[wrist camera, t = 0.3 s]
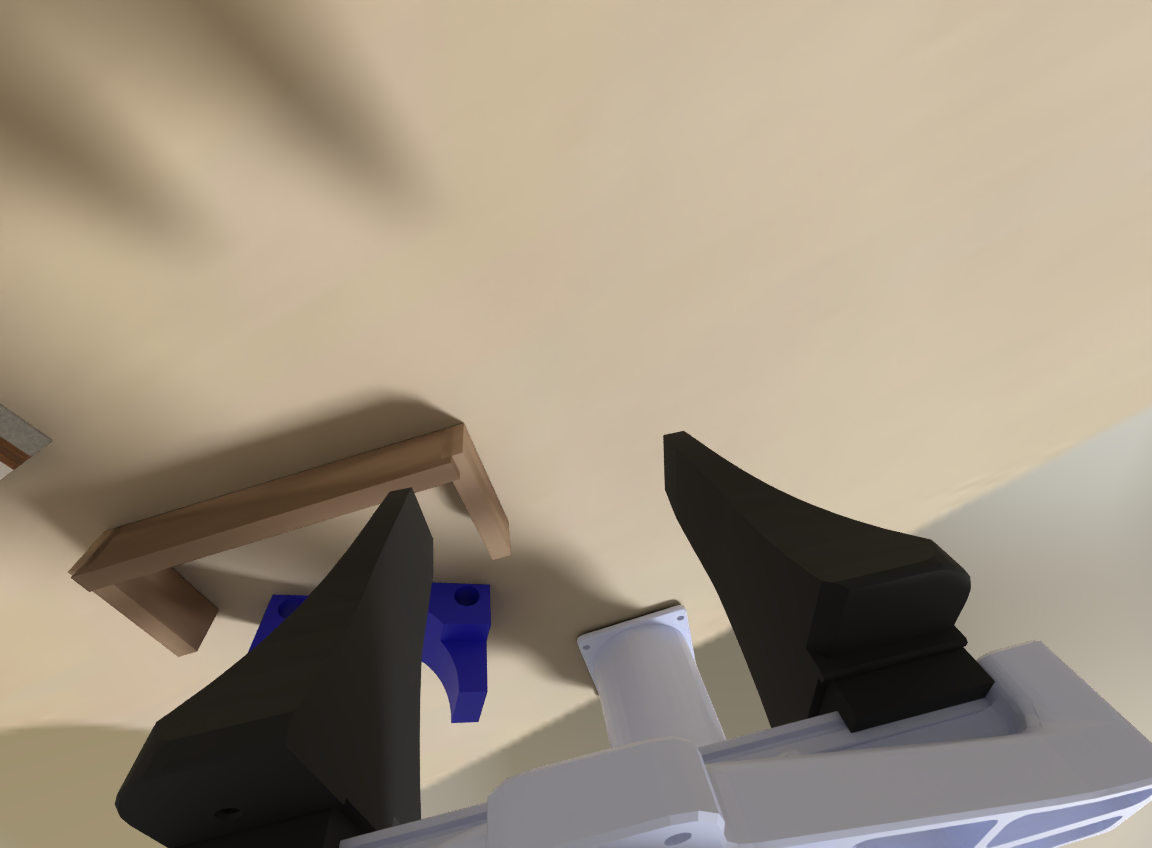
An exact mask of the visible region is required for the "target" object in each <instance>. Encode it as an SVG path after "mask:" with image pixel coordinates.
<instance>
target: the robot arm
mask: <svg viewBox="0 0 1152 848" xmlns="http://www.w3.org/2000/svg"><path fill="white" fill-rule="evenodd" d="M663 440H664V474H665V491H666V493H667V496H668V498H669V501H670V504H671V506H672V509H673V511H674V514H675V516H676V518H677V520H678V522H679V524H680V526H681V528H682V529H683V531H684V533H685V535H686V537H687V538H688V540H689V542H690V544H691V546H692V547H693V549H694V551H695V553H696V555H697V556H698V558H699V560H700V562H701V563H702V565H703V567H704V569H705V571H706V572H707V574H708V576H709V578H710V579H711V581H712V583H713V585H714V587H715V589H716V591H717V593H718V595H719V598H720V600H721V602H722V605H723V607H724V609H725V611H726V614H727V616H728V618H729V621H730V623H731V625H732V628H733V630H734V633H735V635H736V638H737V640H738V642H739V645H740V647H741V650H742V652H743V655H744V657H745V660H746V662H747V665H748V667H749V670H750V672H751V675H752V677H753V680H754V683H755V685H756V688H757V690H758V693H759V696H760V698H761V701H762V704H763V706H764V709H765V712H766V715H767V717H768V720H769V723H770V725H771V728H770V729H766V730H763V731H759V732H755V733H751V734H747V735H744V736H740V737H736V738H732V739H728V740H726V737H725V735H724V732H723V730H722V727H721V725H720V722H719V720H718V717H717V715H716V712H715V710H714V708H713V705H712V703H711V700H710V698H709V695H708V693H707V690H706V688H705V685H704V683H703V680H702V678H701V675H700V673H699V670H698V668H697V666H696V662H695V657H694V651H693V645H692V640H691V634H690V629H689V623H688V618H687V612H686V609H685V607H684V606H682V605H677V606H674V607H671V608H668V609H664V610H661V611H658V612H655V613H651V614H648V615H645V616H642V617H639V618H635V619H632V620H629V621H626V622H622V623H619V624H616V625H613V626H610V627H606V628H603V629H600V630H597V631H593V632H590V633H587V634H584V635H581V636H579V637H578V639H577V643H578V646H579V649H580V651H581V653H582V656H583V658H584V661H585V663H586V665H587V668H588V670H589V672H590V675H591V677H592V679H593V682H594V684H595V686H596V689H597V691H598V693H599V696H600V700H601V705H602V709H603V714H604V719H605V723H606V728H607V733H608V737H609V742H610V747H611V748H610V749H606V750H603V751H599V752H595V753H591V754H587V755H583V756H579V757H575V758H572V759H568V760H564V761H560V762H556V763H552V764H548V765H544V766H541V767H536V768H533V769H529V770H527V771H524V772H522V773H519V774H517V775H514V776H512V777H509V778H507V779H506V780H505V781H503V782H502V783H501V784H500V785H499V786H498V787H496V789H494V790H493V791H492V792H491V794H490V795H489V796H488V801H487V802H486V803H482V804H479V805H475V806H471V807H468V808H463V809H459V810H456V811H452V812H448V813H445V814H441V815H437V816H433V817H429V818H425V819H421V803H420V688H421V662H422V652H423V643H424V636H425V629H426V622H427V615H428V607H429V600H430V593H431V585H432V577H433V538H432V535H431V533H430V530H429V528H428V525H427V523H426V521H425V518H424V516H423V513H422V511H421V508H420V506H419V503H418V501H417V499H416V496H415V494H414V491H413V489H412V487H410V488H405V489H400V490H395V491H390V492H389V493H388V495H387V496H386V497H385V499H384V500H383V501H382V503H381V504H380V506H379V507H378V508H377V510H376V511H375V513H374V514H373V516H372V517H371V518H370V520H369V521H368V523H367V524H366V526H365V527H364V528H363V530H362V531H361V533H360V534H359V535H358V537H357V538H356V539H355V541H354V542H353V543H352V545H351V546H350V548H349V549H348V550H347V551H346V553H345V554H344V555H343V556H342V558H341V559H340V560H339V561H338V563H337V564H336V565H335V566H334V567H333V569H332V570H331V571H330V572H329V574H328V575H327V576H326V577H325V578H324V580H323V581H322V582H321V583H320V584H319V585H318V586H317V587H316V589H315V590H314V591H313V592H312V593H311V594H310V595H309V596H308V597H307V598H306V599H305V600H304V601H303V602H302V603H301V604H300V606H299V607H298V608H297V609H296V610H295V611H294V612H293V613H292V614H291V615H290V616H288V617H287V618H286V619H285V620H284V621H283V622H282V623H281V624H280V625H279V626H278V627H277V628H276V629H274V630H273V631H272V632H271V633H270V634H269V635H268V636H267V637H266V638H265V639H264V640H263V641H261V642H260V643H259V644H258V645H257V646H256V647H255V648H253V649H252V650H251V651H250V652H249V653H248V654H246V655H245V656H244V657H243V658H242V659H240V660H239V661H238V662H237V663H235V664H234V665H233V666H232V667H230V668H229V669H228V670H227V671H225V672H224V673H223V674H222V675H220V676H219V677H218V678H217V679H215V680H214V681H213V682H211V683H210V684H209V685H207V686H206V687H205V688H203V689H202V690H201V691H199V692H198V693H196V694H195V695H194V696H192V697H191V698H190V699H188V700H187V701H185V702H184V703H183V704H181V705H180V706H178V707H177V708H176V709H174V710H173V711H172V712H170V713H169V714H167V715H166V716H164V717H163V718H162V719H160V720H159V721H157V722H156V724H155V726H154V727H153V729H152V731H151V733H150V735H149V737H148V738H147V740H146V742H145V744H144V746H143V748H142V750H141V751H140V753H139V755H138V757H137V759H136V761H135V762H134V764H133V766H132V768H131V770H130V772H129V774H128V775H127V777H126V779H125V781H124V783H123V785H122V786H121V789H120V790H119V792H118V794H117V797H116V801H115V806H116V808H117V811H118V813H119V815H120V817H121V818H122V819H123V820H124V821H125V822H127V823H128V824H129V825H131V826H132V827H134V828H135V829H137V830H139V831H140V832H142V833H144V834H145V835H147V836H149V837H151V838H152V839H154V840H156V841H158V842H159V843H161V844H162V845H164V846H166V847H167V848H1058V847H1060V846H1063V845H1067V844H1070V843H1073V842H1076V841H1080V840H1083V839H1086V838H1090V837H1093V836H1096V835H1099V834H1102V833H1106V832H1109V831H1111V830H1113V829H1114V828H1115V827H1117V826H1118V825H1119V824H1121V823H1122V822H1123V821H1125V820H1126V819H1127V818H1129V817H1130V816H1131V815H1133V814H1134V813H1135V812H1137V811H1138V810H1139V809H1141V808H1142V807H1143V806H1145V805H1146V804H1147V803H1149V802H1150V801H1151V800H1152V743H1151V742H1150V741H1149V740H1148V739H1147V738H1146V737H1145V736H1144V735H1143V734H1141V733H1140V732H1139V731H1138V730H1137V729H1136V728H1135V727H1134V726H1133V725H1132V724H1131V723H1129V722H1128V721H1127V720H1126V719H1125V718H1124V717H1123V716H1122V715H1121V714H1120V713H1119V712H1117V711H1116V710H1115V709H1114V708H1113V707H1112V706H1111V705H1110V704H1109V703H1108V702H1107V701H1105V700H1104V699H1103V698H1102V697H1101V696H1100V695H1099V694H1098V693H1097V692H1095V691H1094V690H1093V689H1092V688H1091V687H1090V686H1089V685H1088V684H1087V683H1086V682H1085V681H1084V680H1083V679H1081V678H1080V677H1079V676H1078V675H1077V674H1076V673H1075V672H1074V671H1073V670H1072V669H1070V668H1069V667H1068V666H1067V665H1066V664H1065V663H1064V662H1063V661H1062V660H1061V659H1060V658H1059V657H1057V656H1056V655H1055V654H1054V653H1053V652H1052V651H1051V650H1050V649H1049V648H1048V647H1047V646H1045V645H1044V644H1043V643H1042V642H1041V641H1036V640H1034V641H1030V642H1026V643H1022V644H1018V645H1014V646H1011V647H1006V648H1003V649H999V650H995V651H992V652H989V653H987V654H985V655H983V656H982V657H980V658H978V659H977V660H975V659H974V658H973V657H972V656H971V655H970V654H969V653H968V652H967V651H966V650H965V648H964V646H966V645H967V643H968V642H967V639H966V637H965V636H964V635H963V634H962V633H961V632H960V631H959V630H958V629H957V628H956V627H955V626H954V624H955V622H956V620H957V618H958V616H959V614H960V612H961V610H962V609H963V607H964V605H965V603H966V601H967V598H968V596H969V593H970V589H971V581H970V576H969V575H968V573H967V572H966V571H965V570H964V569H963V568H962V567H961V566H960V565H959V564H958V563H957V562H955V560H953V559H952V558H951V557H950V556H949V555H948V554H947V553H946V552H945V551H943V550H942V549H941V548H940V547H939V546H938V545H937V544H936V543H934V542H933V541H932V540H930V539H926V538H922V537H917V536H913V535H909V534H905V533H900V532H896V531H892V530H887V529H884V528H880V527H876V526H873V525H870V524H866V523H863V522H860V521H856V520H853V519H850V518H847V517H844V516H841V515H838V514H835V513H833V512H830V511H827V510H825V509H822V508H819V507H817V506H814V505H811V504H809V503H807V502H804V501H802V500H800V499H797V498H795V497H793V496H791V495H789V494H787V493H784V492H782V491H780V490H778V489H776V488H774V487H772V486H770V485H768V484H766V483H764V482H763V481H761V480H759V479H757V478H755V477H754V476H752V475H750V474H748V473H747V472H745V471H743V470H742V469H740V468H738V467H737V466H735V465H734V464H732V463H730V462H729V461H727V460H726V459H724V458H723V457H721V456H720V455H718V454H717V453H715V452H714V451H712V450H711V449H709V448H708V447H706V446H705V445H703V444H702V443H701V442H699V441H698V440H696V439H695V438H693V437H692V436H691V435H689V434H688V433H686V432H685V431H681V432H676V433H672V434H667V435H663Z"/></svg>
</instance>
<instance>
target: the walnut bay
mask: <svg viewBox="0 0 1152 848" xmlns="http://www.w3.org/2000/svg"><path fill="white" fill-rule="evenodd" d="M449 482H453V484H454V486H455V488H456V490H457V491H458V493H459V495H460V497H461V499H462V501H463V503H464V505H465V507H466V509H467V511H468V513H469V515H470V517H471V519H472V521H473V523H474V525H475V527H476V528H477V530H478V532H479V534H480V536H481V538H482V540H483V542H484V544H485V546H486V548H487V550H488V552H489V554H490V556H491V558H492V560H496V559H499V558H502V557H506V556H509V555H511V546H510V534H509V522H508V519H507V517H506V515H505V513H504V511H503V508H502V506H501V504H500V502H499V500H498V497H497V495H496V493H495V491H494V489H493V486H492V484H491V482H490V480H489V477H488V475H487V473H486V471H485V469H484V466H483V464H482V462H481V460H480V458H479V455H478V453H477V451H476V449H475V447H474V444H473V442H472V440H471V438H470V436H469V433H468V431H467V429H466V427H465V425H464V423H462V424H459V425H456V426H452V427H449V428H446V429H442V430H439V431H436V432H432V433H429V434H426V435H422V436H419V437H416V438H413V439H409V440H406V441H403V442H399V443H396V444H393V445H389V446H386V447H383V448H379V449H376V450H373V451H370V452H366V453H363V454H360V455H356V456H353V457H350V458H346V459H343V460H340V461H336V462H333V463H330V464H326V465H323V466H320V467H317V468H313V469H310V470H307V471H303V472H300V473H297V474H293V475H290V476H287V477H283V478H280V479H277V480H273V481H270V482H267V483H264V484H260V485H257V486H254V487H250V488H247V489H244V490H240V491H237V492H234V493H230V494H227V495H224V496H221V497H217V498H214V499H211V500H207V501H204V502H201V503H197V504H194V505H191V506H187V507H184V508H181V509H177V510H174V511H171V512H168V513H164V514H161V515H158V516H154V517H151V518H148V519H144V520H141V521H138V522H134V523H131V524H128V525H124V526H121V527H118V528H115V529H111V530H108V531H105V532H104V533H103V534H102V535H101V536H100V537H99V538H98V539H97V541H96V542H95V543H94V544H93V545H92V546H91V547H90V548H89V549H88V550H87V551H86V553H85V554H84V555H83V556H82V557H81V558H80V559H79V560H78V561H77V562H76V564H75V565H74V566H73V567H72V568H71V569H70V570H69V571H68V573H70V574H71V575H72V577H71V578H72V579H73V580H74V581H76V582H77V583H78V584H80V585H81V586H82V587H83V588H85V589H86V590H87V591H89V592H91V591H93V592H94V593H96V594H97V595H98V596H100V597H101V598H102V599H103V600H105V601H106V602H107V603H109V604H110V605H111V606H113V607H114V608H115V609H116V610H118V611H119V612H120V613H122V614H123V615H124V616H126V617H127V618H128V619H130V620H131V621H132V622H133V623H135V624H136V625H137V626H139V627H140V628H141V629H143V630H144V631H145V632H147V633H148V634H149V635H150V636H152V637H153V638H154V639H156V640H157V641H158V642H160V643H161V644H162V645H163V646H165V647H166V648H167V649H169V650H170V651H171V652H173V653H174V654H175V655H177V656H178V657H180V656H183V655H187V654H190V653H193V652H196V651H198V649H199V647H200V645H201V643H202V641H203V639H204V637H205V635H206V634H207V632H208V630H209V628H210V626H211V624H212V622H213V620H214V618H215V617H216V615H217V613H218V611H219V610H218V609H217V608H216V607H215V606H213V605H212V604H211V603H210V602H209V601H208V600H207V599H206V598H205V597H204V596H202V595H201V594H200V593H199V592H198V591H197V590H196V589H195V588H194V587H192V586H191V585H190V584H189V583H188V582H187V581H186V580H185V579H184V578H183V577H181V576H180V575H179V574H178V573H177V572H176V571H175V570H174V569H173V568H171V567H173V566H176V565H180V564H183V563H186V562H189V561H193V560H196V559H199V558H203V557H206V556H209V555H212V554H216V553H219V552H222V551H226V550H229V549H232V548H235V547H239V546H242V545H245V544H249V543H252V542H255V541H259V540H262V539H265V538H268V537H272V536H275V535H278V534H282V533H285V532H288V531H291V530H295V529H298V528H301V527H305V526H308V525H311V524H314V523H318V522H321V521H324V520H328V519H331V518H334V517H337V516H341V515H344V514H347V513H351V512H354V511H357V510H361V509H364V508H367V507H370V506H374V505H377V504H380V503H382V501H383V500H384V499H385V497H386V496H387V495H388V493H389V492H390V491H395V490H400V489H405V488H410V487H412V489H413V491H414V493H416V492H420V491H423V490H426V489H430V488H433V487H436V486H440V485H443V484H446V483H449Z"/></svg>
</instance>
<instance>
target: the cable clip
mask: <svg viewBox="0 0 1152 848" xmlns="http://www.w3.org/2000/svg"><path fill="white" fill-rule="evenodd" d="M307 597H308V596H301V595H272V598H271V600H270V602H269V605H268V607H267V609H266V612H265V614H264V616H263V619H262V621H261V623H260V626H259V628H258V630H257V633H256V635H255V637H254V640H253V642H252V644H251V647H250V649H249V651H248V653H249V652H250V651H251V650H252V649H253V648H255V647H256V646H257V645H258V644H259V643H260V642H261V641H263V640H264V639H265V638H266V637H267V636H268V635H269V634H270V633H271V632H272V631H273V630H274V629H276V628H277V627H278V626H279V625H280V624H281V623H282V622H283V621H284V620H285V619H286V618H287V617H288V616H290V615H291V614H292V613H293V612H294V611H295V610H296V609H297V608H298V607H299V606H300V604H301V603H302V602H303V601H304V600H305V599H306V598H307ZM490 626H491V612H490V585H484V584H458V583H432V585H431V593H430V600H429V607H428V615H427V622H426V629H425V636H424V643H423V652H422V662H423V663H425V664H426V665H427V666H429V667H430V668H431V669H432V670H433V671H434V673H435V674H436V675H437V676H438V678H439V679H440V681H441V682H442V684H443V686H444V688H445V690H446V693H447V695H448V699H449V703H450V709H451V723H464V722H479V718H480V715H481V711H482V708H483V705H484V701H485V698H486V695H487V644H486V641H487V637H488V633H489V629H490Z"/></svg>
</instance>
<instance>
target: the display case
mask: <svg viewBox="0 0 1152 848" xmlns="http://www.w3.org/2000/svg"><path fill="white" fill-rule="evenodd" d="M50 442H52V440H51V439H49V438H48V437H46V436H45V435H43V434H42V433H40V432H39V431H38V430H36V429H35V428H33V427H32V426H30V425H29V424H27V423H26V422H25V421H23V420H22V419H20V418H19V417H17V416H16V415H14V414H13V413H12V412H10V411H9V410H7V409H6V408H4V407H3V406H1V405H0V480H1V479H2V478H4V477H5V476H6V475H8V474H9V473H10V472H12V471H13V470H14V469H16V468H17V467H18V466H20V465H21V464H22V463H24V462H25V461H26V460H28V459H29V458H30V457H32V456H33V455H34V454H36V453H37V452H38V451H40V450H41V449H42V448H44V447H45V446H46V445H48V444H49V443H50Z"/></svg>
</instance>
